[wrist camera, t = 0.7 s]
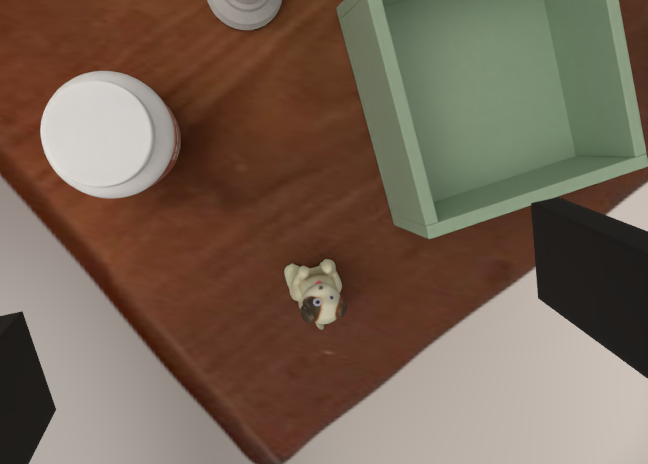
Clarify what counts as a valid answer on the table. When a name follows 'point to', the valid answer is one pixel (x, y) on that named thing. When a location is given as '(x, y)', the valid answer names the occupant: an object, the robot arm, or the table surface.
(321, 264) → the toy dog
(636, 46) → the table surface
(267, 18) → the chess piece
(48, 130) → the pill bottle
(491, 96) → the bin
